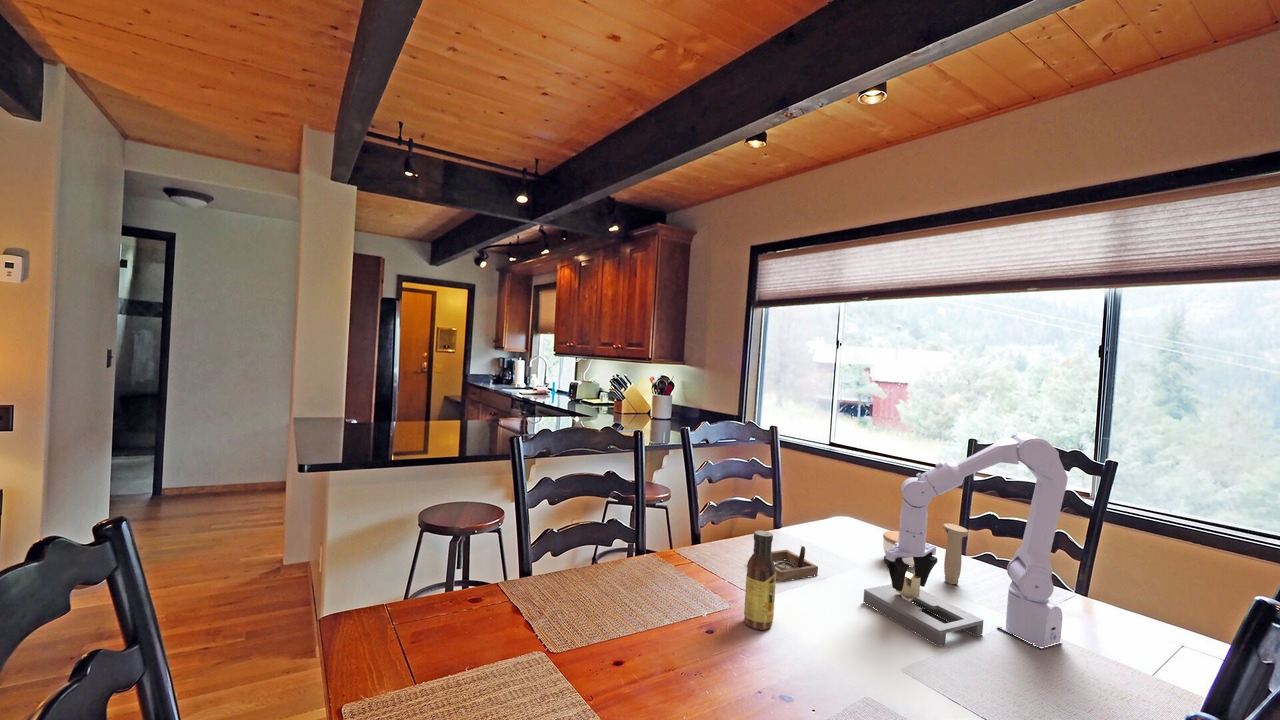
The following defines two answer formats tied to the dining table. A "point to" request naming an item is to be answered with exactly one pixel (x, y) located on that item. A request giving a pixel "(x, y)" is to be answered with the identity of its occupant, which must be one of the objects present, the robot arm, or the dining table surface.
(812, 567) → the rim
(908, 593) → the keyhole peg
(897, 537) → the lidded jar
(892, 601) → the keyhole board
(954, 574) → the handle
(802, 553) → the compass
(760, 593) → the sauce bottle
